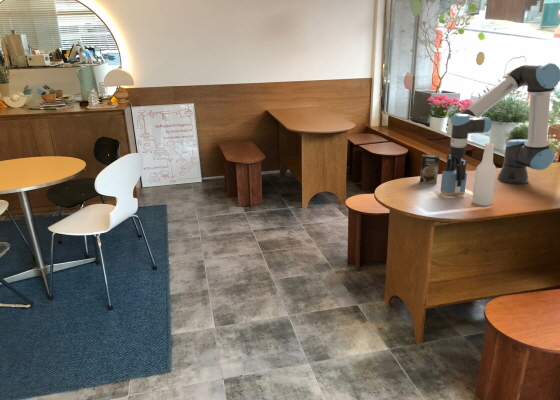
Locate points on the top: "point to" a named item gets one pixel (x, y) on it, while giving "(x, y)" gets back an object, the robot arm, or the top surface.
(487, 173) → the alcohol
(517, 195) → the top surface
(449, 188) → the block
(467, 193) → the board
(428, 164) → the coffee box
